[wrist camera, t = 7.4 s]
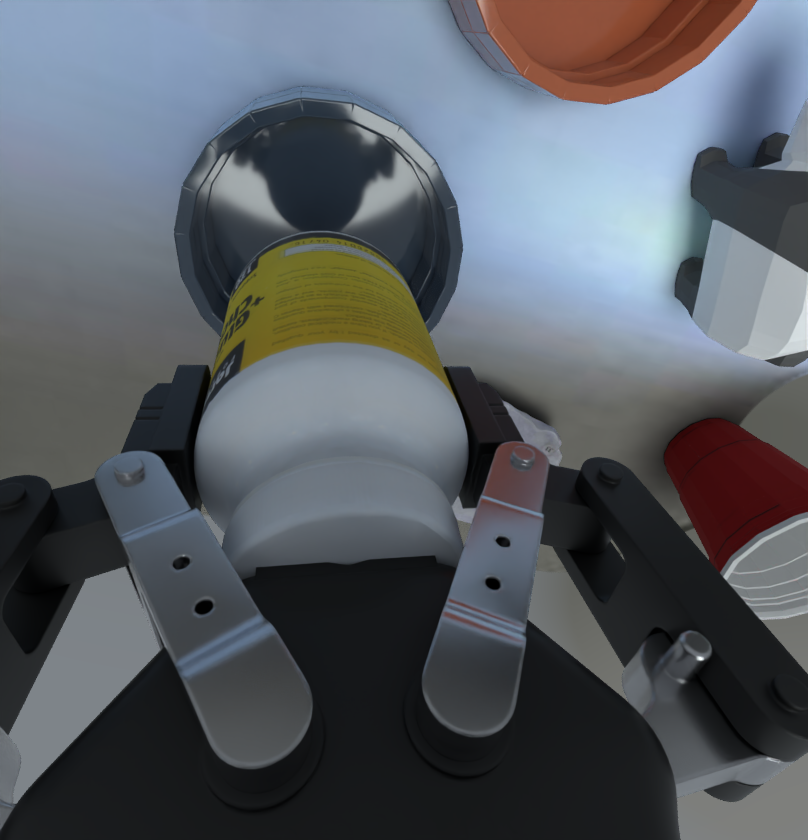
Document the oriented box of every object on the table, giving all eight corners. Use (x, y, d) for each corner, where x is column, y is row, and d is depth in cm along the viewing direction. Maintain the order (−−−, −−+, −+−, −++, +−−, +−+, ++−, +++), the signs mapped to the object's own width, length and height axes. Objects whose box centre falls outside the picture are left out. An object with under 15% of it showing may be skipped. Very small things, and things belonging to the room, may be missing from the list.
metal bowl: (211, 335, 29) (197, 379, 25) (174, 71, 21) (148, 81, 18) (425, 339, 31) (440, 380, 27) (459, 101, 23) (486, 116, 20)
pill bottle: (271, 186, 16) (234, 409, 7) (444, 276, 18) (587, 523, 9) (204, 354, 19) (117, 665, 10) (362, 411, 21) (408, 695, 12)
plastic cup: (676, 380, 36) (807, 508, 26) (795, 397, 38) (952, 518, 29) (605, 491, 42) (691, 626, 33) (712, 498, 45) (819, 625, 35)
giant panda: (747, 297, 32) (880, 380, 25) (662, 316, 32) (769, 406, 25) (830, 1, 23) (1079, -8, 16) (711, 27, 23) (905, 30, 16)
